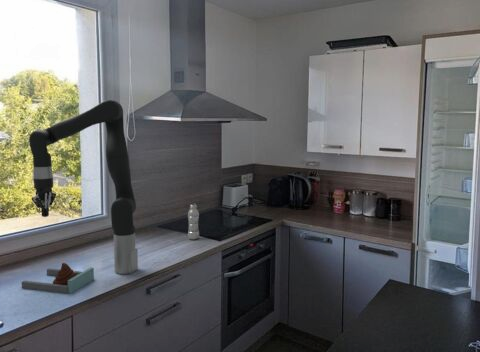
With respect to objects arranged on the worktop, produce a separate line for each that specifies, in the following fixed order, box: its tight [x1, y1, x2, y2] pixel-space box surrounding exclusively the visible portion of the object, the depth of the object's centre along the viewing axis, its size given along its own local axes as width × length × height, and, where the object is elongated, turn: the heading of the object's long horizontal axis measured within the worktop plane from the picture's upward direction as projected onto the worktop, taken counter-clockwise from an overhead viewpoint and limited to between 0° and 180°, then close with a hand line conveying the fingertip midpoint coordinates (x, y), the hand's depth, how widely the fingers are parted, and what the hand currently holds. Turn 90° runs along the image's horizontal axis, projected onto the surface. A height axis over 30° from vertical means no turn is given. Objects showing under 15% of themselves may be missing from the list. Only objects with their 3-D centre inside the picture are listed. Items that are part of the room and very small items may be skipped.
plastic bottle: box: [187, 203, 200, 240], centre depth 233 cm, size 6×7×20 cm
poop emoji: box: [52, 262, 76, 286], centre depth 167 cm, size 10×8×9 cm
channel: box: [21, 267, 95, 294], centre depth 169 cm, size 22×16×5 cm
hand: (45, 216), depth 179 cm, fingers closed
